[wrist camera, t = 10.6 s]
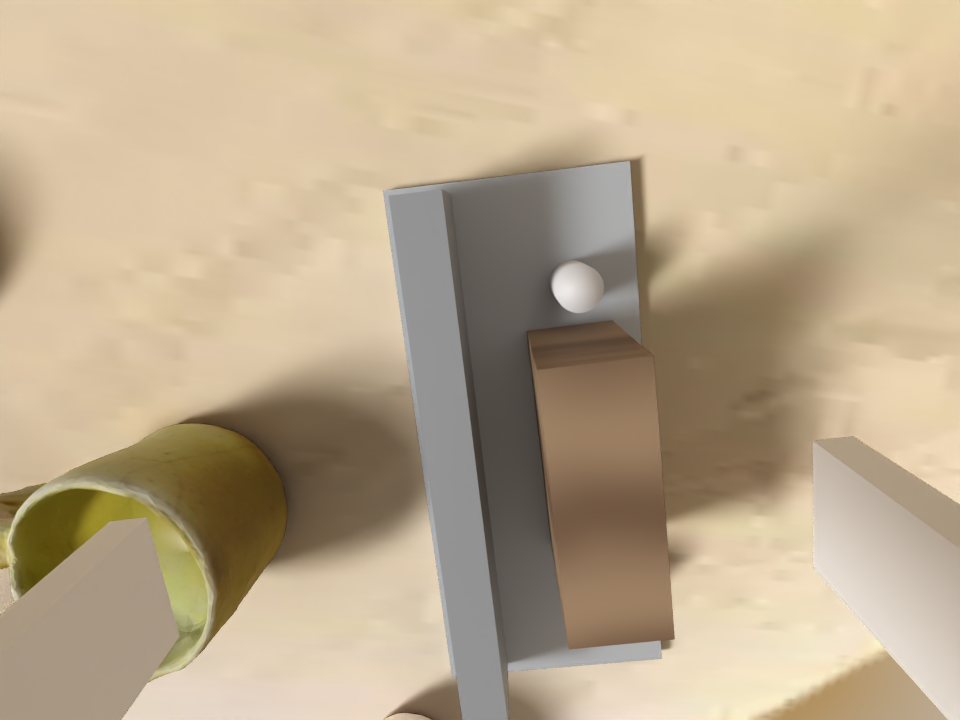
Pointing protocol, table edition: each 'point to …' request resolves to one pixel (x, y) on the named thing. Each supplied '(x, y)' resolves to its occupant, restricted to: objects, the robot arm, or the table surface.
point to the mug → (161, 522)
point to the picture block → (603, 483)
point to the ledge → (503, 395)
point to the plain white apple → (407, 717)
